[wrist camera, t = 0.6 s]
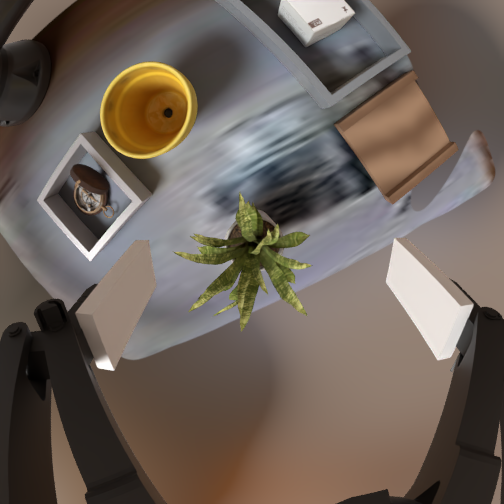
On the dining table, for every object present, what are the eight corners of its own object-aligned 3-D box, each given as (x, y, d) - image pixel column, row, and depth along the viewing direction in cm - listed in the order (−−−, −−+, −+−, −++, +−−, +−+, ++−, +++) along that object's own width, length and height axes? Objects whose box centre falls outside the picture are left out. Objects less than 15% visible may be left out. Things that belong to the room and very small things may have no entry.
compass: (70, 199, 39) (43, 213, 32) (92, 157, 36) (64, 165, 30) (106, 229, 41) (83, 248, 34) (131, 188, 38) (108, 202, 32)
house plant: (184, 182, 38) (140, 220, 23) (287, 157, 37) (308, 179, 22) (214, 275, 44) (195, 351, 29) (307, 255, 42) (331, 326, 27)
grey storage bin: (215, 0, 27) (209, -15, 23) (294, -45, 24) (298, -62, 19) (321, 109, 34) (330, 106, 29) (394, 58, 30) (411, 51, 25)
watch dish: (51, 193, 38) (37, 200, 35) (95, 131, 35) (80, 133, 31) (102, 250, 42) (90, 261, 39) (152, 194, 39) (142, 201, 35)
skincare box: (312, -2, 27) (323, -25, 20) (340, 30, 29) (357, 12, 22) (276, 16, 29) (280, -6, 22) (304, 49, 31) (315, 33, 24)
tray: (333, 124, 35) (338, 124, 32) (405, 72, 31) (413, 70, 28) (385, 200, 38) (392, 204, 36) (449, 147, 35) (458, 149, 32)
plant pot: (224, 116, 34) (214, 112, 26) (164, 166, 37) (136, 179, 28) (177, 60, 31) (152, 42, 22) (120, 111, 34) (82, 110, 25)
